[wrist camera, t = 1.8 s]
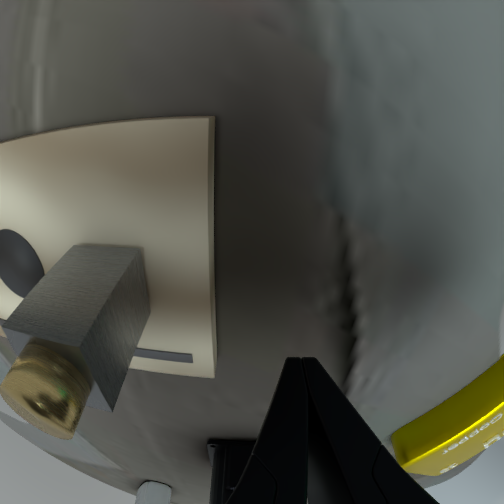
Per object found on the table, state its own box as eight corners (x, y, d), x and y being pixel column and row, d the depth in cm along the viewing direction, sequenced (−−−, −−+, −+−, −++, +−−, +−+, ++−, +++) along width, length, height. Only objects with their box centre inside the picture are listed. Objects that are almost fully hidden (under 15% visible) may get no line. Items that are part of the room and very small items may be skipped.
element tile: (516, 339, 17) (541, 377, 12) (522, 386, 22) (536, 413, 17) (382, 433, 22) (393, 475, 18) (427, 451, 27) (436, 480, 23)
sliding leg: (150, 312, 12) (98, 454, 6) (90, 304, 12) (22, 425, 6) (140, 248, 10) (52, 398, 5) (73, 244, 10) (-26, 364, 5)
